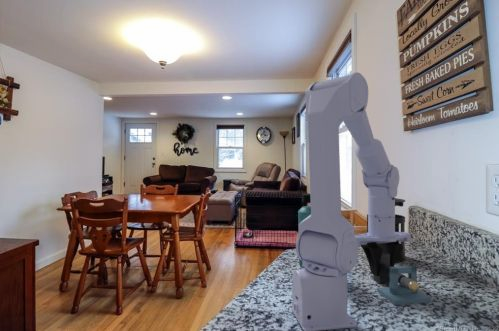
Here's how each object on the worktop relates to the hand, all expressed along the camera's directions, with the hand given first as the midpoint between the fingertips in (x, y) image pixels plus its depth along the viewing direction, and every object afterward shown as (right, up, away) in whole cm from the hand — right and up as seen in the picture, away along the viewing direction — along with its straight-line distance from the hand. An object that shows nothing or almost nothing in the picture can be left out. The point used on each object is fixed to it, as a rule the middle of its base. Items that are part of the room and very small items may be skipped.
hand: (381, 273), depth 70 cm
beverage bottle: (-15, -2, +7) cm, 17 cm away
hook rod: (+1, -2, -5) cm, 6 cm away
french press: (+10, -2, +18) cm, 21 cm away
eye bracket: (+1, -2, -8) cm, 8 cm away
